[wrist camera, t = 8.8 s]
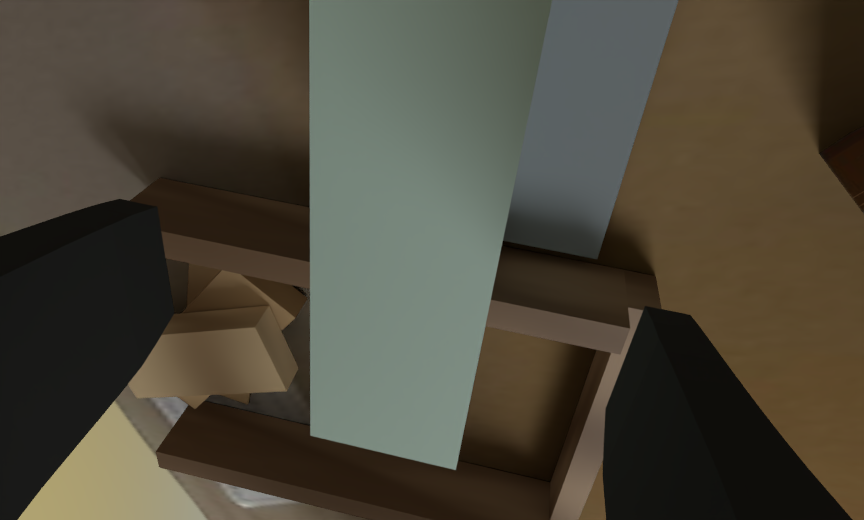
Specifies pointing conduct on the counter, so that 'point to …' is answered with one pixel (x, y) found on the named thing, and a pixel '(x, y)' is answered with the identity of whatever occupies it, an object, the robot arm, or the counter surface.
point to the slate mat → (584, 120)
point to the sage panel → (410, 208)
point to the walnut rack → (375, 471)
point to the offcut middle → (245, 302)
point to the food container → (848, 164)
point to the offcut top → (217, 356)
